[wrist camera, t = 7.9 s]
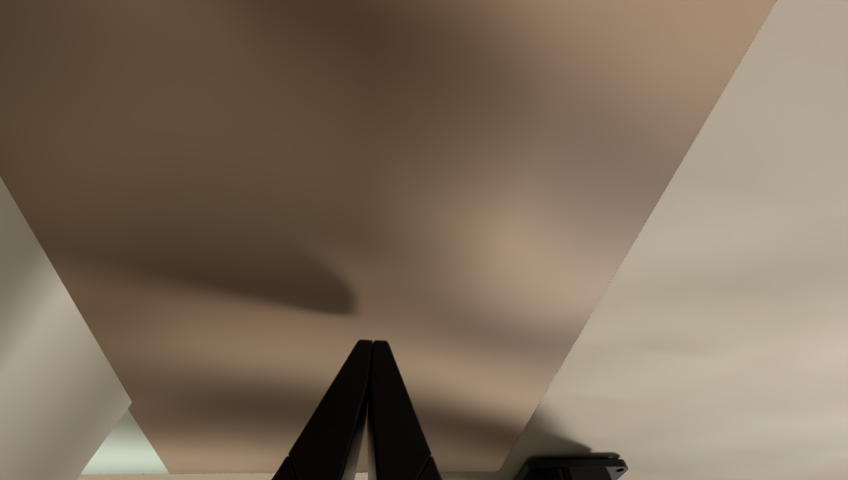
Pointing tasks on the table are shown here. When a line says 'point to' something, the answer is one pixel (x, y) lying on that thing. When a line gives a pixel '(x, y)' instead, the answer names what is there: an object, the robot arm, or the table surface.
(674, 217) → the table surface
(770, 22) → the table surface
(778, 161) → the table surface
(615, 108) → the podium
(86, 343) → the carton
